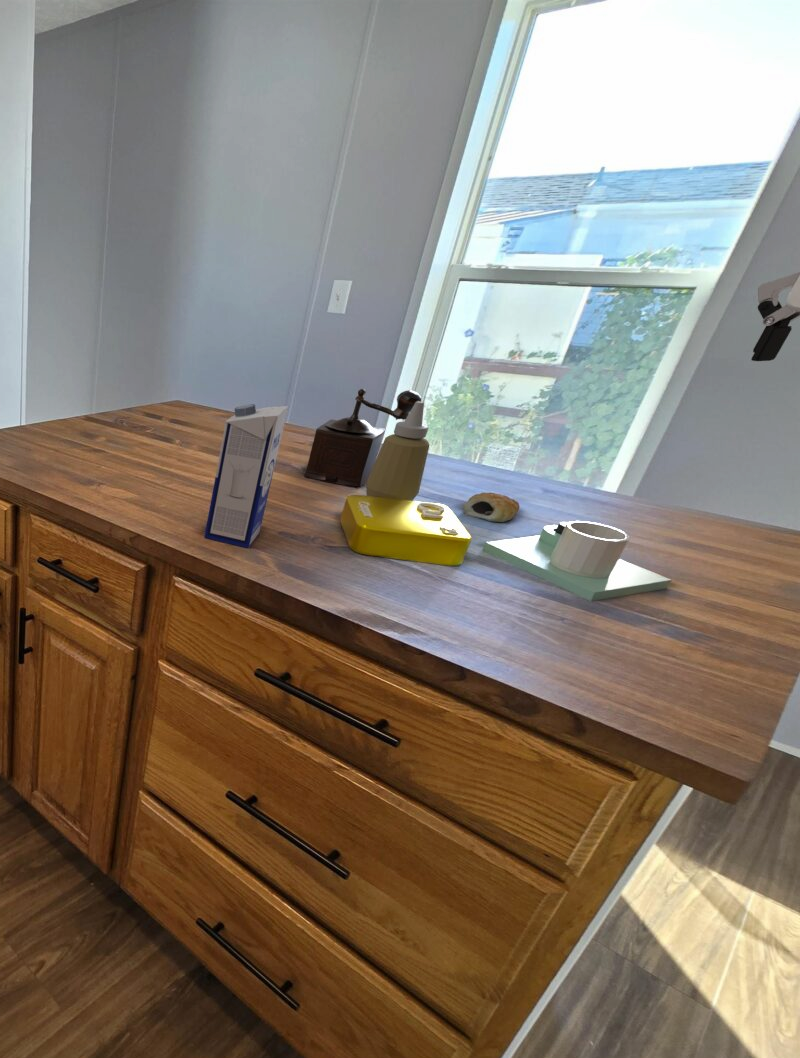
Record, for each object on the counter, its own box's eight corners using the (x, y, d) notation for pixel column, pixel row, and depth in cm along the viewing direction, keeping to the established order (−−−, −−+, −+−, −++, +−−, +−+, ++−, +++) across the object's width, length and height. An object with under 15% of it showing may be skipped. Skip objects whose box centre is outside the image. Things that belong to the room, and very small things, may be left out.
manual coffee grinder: (301, 477, 127) (325, 381, 118) (317, 464, 134) (341, 372, 125) (389, 496, 118) (422, 394, 109) (401, 480, 126) (433, 384, 117)
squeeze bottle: (407, 520, 108) (445, 411, 99) (354, 508, 113) (387, 402, 104) (415, 506, 114) (452, 401, 105) (365, 495, 118) (396, 394, 109)
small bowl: (622, 575, 89) (642, 538, 86) (585, 580, 87) (605, 543, 85) (573, 554, 94) (590, 519, 92) (537, 559, 93) (554, 523, 90)
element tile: (338, 517, 109) (345, 489, 107) (438, 529, 105) (449, 501, 103) (350, 553, 97) (359, 524, 94) (465, 569, 93) (478, 538, 91)
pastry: (485, 503, 116) (494, 482, 114) (527, 516, 111) (537, 495, 109) (457, 513, 112) (465, 491, 110) (499, 527, 107) (509, 505, 105)
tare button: (582, 537, 97) (587, 528, 96) (568, 539, 96) (573, 530, 95) (564, 530, 99) (568, 520, 98) (550, 532, 98) (554, 522, 98)
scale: (668, 588, 89) (680, 569, 87) (590, 601, 85) (601, 581, 84) (553, 540, 102) (562, 523, 101) (481, 550, 99) (489, 532, 97)
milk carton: (248, 548, 98) (278, 414, 88) (203, 538, 101) (227, 407, 91) (259, 533, 103) (289, 404, 93) (217, 523, 106) (241, 397, 96)
